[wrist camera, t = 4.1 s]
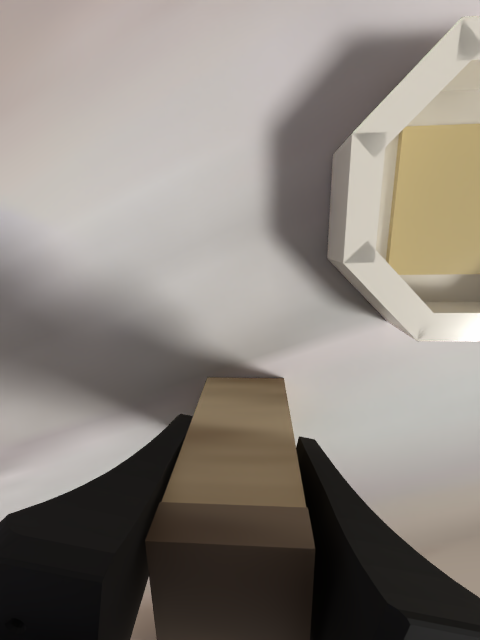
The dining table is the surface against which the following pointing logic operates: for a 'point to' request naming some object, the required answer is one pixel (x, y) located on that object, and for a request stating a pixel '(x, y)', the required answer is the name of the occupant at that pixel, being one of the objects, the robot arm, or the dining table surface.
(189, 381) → the dining table surface
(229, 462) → the brown rectangular block
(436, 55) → the jar dish
